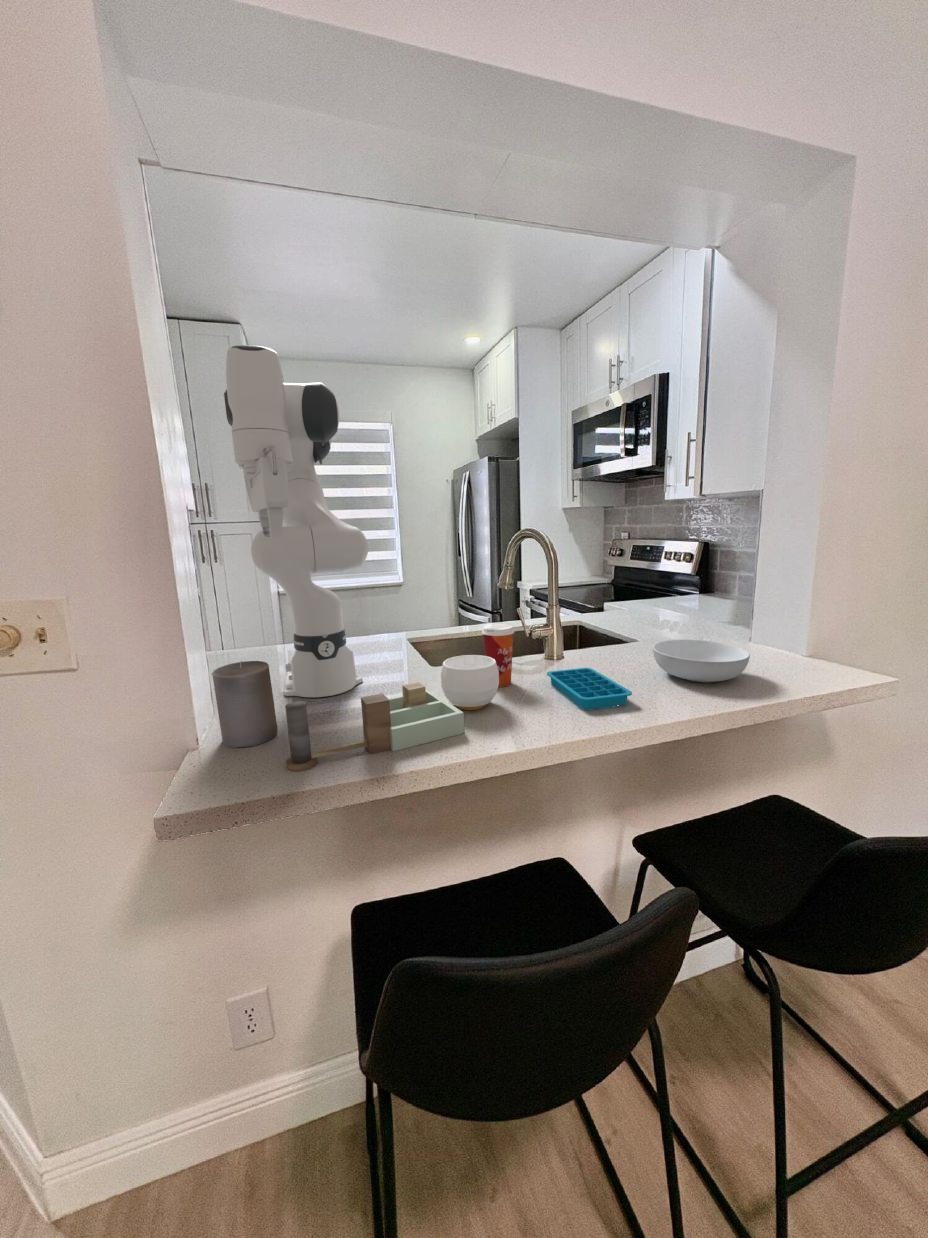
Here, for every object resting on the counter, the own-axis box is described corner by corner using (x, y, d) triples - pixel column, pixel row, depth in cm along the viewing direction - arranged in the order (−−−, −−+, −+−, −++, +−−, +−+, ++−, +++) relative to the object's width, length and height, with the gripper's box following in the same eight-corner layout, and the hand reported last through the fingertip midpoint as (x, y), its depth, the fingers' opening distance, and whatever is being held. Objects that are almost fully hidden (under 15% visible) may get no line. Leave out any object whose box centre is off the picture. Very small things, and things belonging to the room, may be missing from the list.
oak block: (404, 718, 100) (402, 685, 99) (420, 714, 102) (418, 682, 101) (410, 724, 97) (408, 690, 96) (427, 720, 99) (425, 686, 98)
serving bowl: (727, 698, 105) (729, 666, 104) (635, 678, 120) (636, 650, 119) (761, 675, 119) (763, 647, 117) (675, 660, 134) (676, 635, 133)
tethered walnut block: (284, 761, 84) (278, 702, 82) (385, 739, 91) (381, 685, 89) (287, 774, 79) (280, 712, 77) (393, 750, 86) (389, 693, 84)
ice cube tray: (582, 714, 100) (582, 699, 99) (544, 683, 119) (544, 671, 119) (634, 707, 102) (634, 693, 102) (589, 679, 122) (589, 667, 121)
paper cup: (506, 690, 115) (505, 631, 112) (477, 685, 119) (475, 628, 116) (520, 680, 121) (520, 624, 118) (493, 676, 125) (491, 622, 123)
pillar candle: (261, 722, 101) (252, 651, 98) (287, 734, 94) (278, 658, 92) (213, 740, 94) (200, 663, 91) (237, 754, 87) (225, 672, 84)
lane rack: (365, 722, 99) (364, 703, 98) (429, 707, 106) (428, 689, 105) (393, 751, 86) (391, 729, 85) (464, 732, 92) (463, 712, 91)
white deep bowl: (448, 694, 113) (446, 653, 111) (502, 696, 111) (501, 654, 109) (436, 715, 101) (434, 669, 99) (496, 717, 99) (495, 670, 97)
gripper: (295, 443, 74) (304, 537, 77) (274, 460, 92) (282, 536, 94) (249, 441, 71) (260, 539, 74) (237, 459, 89) (246, 537, 91)
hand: (272, 537), depth 84 cm, fingers open, 8 cm apart
